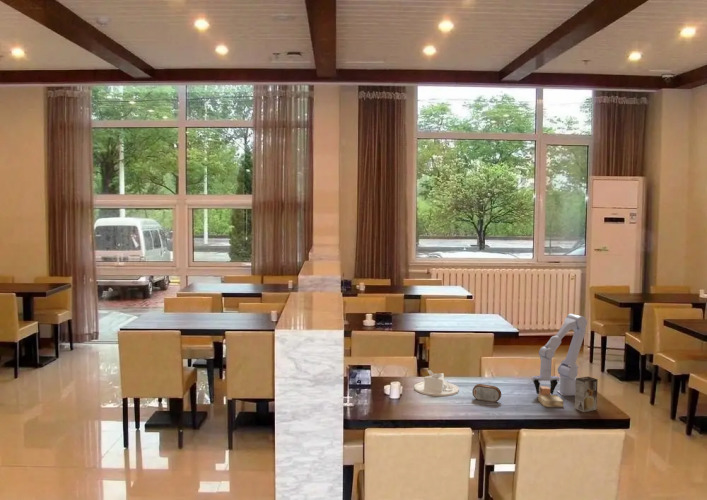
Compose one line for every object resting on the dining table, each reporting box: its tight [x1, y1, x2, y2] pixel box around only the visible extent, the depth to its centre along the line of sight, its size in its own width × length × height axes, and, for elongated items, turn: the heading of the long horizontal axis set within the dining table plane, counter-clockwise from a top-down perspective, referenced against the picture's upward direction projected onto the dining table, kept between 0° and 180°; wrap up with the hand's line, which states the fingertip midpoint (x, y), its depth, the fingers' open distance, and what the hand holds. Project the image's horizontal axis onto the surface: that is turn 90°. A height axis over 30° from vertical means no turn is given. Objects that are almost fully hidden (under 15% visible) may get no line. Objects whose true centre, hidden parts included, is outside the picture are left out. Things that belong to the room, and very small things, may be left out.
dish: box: [413, 369, 460, 397], centre depth 360 cm, size 25×25×11 cm
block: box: [538, 385, 551, 395], centre depth 351 cm, size 4×4×5 cm
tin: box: [472, 383, 502, 403], centre depth 341 cm, size 15×3×8 cm, turn 65°
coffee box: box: [574, 376, 599, 413], centre depth 330 cm, size 9×6×16 cm
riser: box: [537, 394, 564, 408], centre depth 339 cm, size 10×10×3 cm
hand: (544, 393), depth 351 cm, fingers open, 7 cm apart
